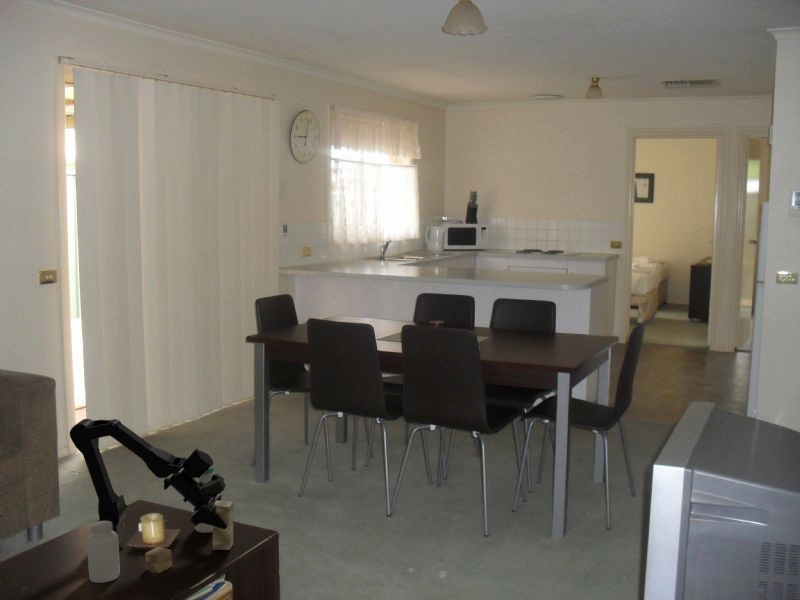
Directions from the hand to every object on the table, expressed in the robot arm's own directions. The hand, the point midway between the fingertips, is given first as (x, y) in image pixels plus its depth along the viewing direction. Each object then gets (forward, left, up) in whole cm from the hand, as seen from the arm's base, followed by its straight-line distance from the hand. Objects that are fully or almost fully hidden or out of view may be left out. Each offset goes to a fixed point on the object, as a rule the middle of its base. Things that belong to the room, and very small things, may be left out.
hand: (227, 524), depth 236 cm
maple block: (-1, -1, -7) cm, 7 cm away
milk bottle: (-17, +4, -8) cm, 19 cm away
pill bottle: (-9, -34, -8) cm, 36 cm away
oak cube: (-3, -21, -7) cm, 22 cm away
